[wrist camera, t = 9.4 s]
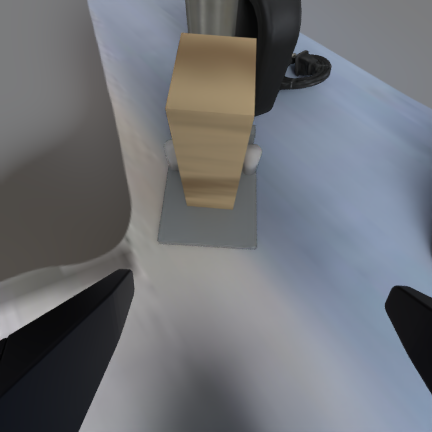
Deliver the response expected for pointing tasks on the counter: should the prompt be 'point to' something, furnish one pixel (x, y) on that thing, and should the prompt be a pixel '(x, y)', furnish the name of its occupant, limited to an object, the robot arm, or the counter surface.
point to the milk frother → (262, 41)
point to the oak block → (212, 115)
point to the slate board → (211, 209)
